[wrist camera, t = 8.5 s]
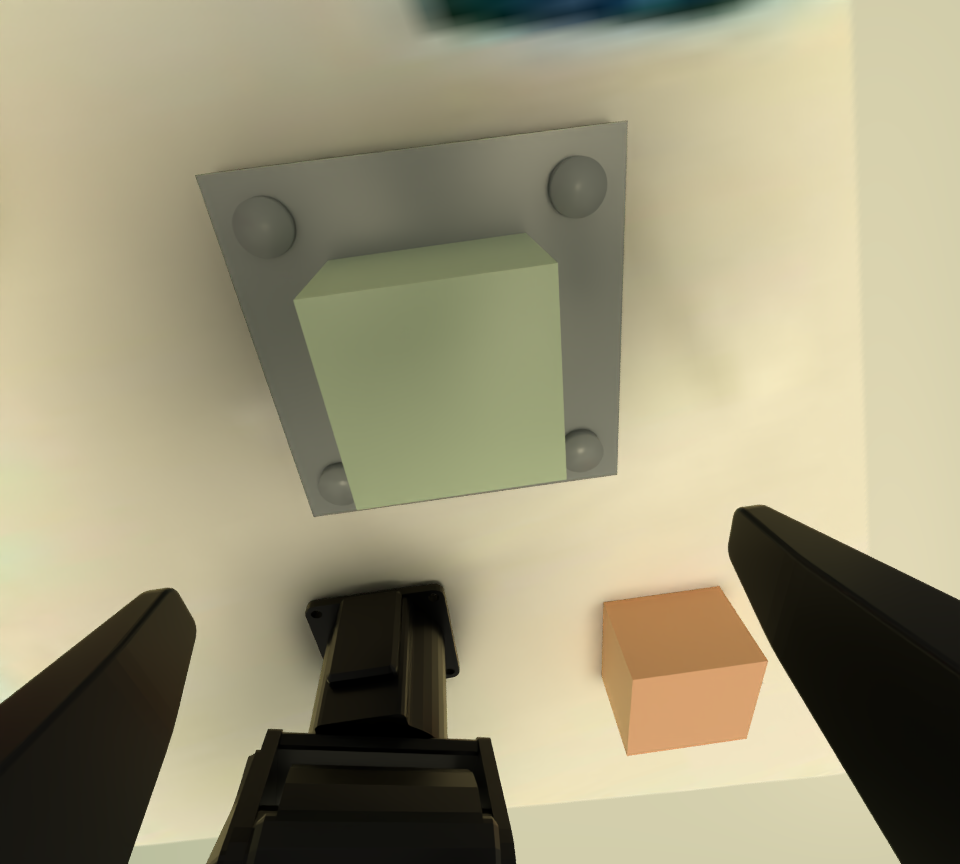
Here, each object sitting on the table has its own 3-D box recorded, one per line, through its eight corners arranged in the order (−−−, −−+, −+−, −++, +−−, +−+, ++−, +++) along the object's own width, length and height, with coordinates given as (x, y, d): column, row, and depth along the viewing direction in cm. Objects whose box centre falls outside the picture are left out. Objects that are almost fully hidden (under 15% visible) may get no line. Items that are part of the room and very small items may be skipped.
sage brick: (537, 408, 18) (567, 479, 15) (372, 432, 18) (356, 510, 14) (525, 232, 15) (558, 263, 12) (328, 260, 15) (293, 300, 11)
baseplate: (605, 454, 21) (620, 481, 20) (320, 494, 21) (311, 525, 20) (611, 122, 16) (633, 120, 14) (215, 172, 15) (187, 176, 14)
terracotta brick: (704, 659, 29) (746, 738, 25) (600, 673, 29) (626, 755, 25) (717, 583, 26) (768, 661, 22) (602, 600, 26) (632, 680, 22)
